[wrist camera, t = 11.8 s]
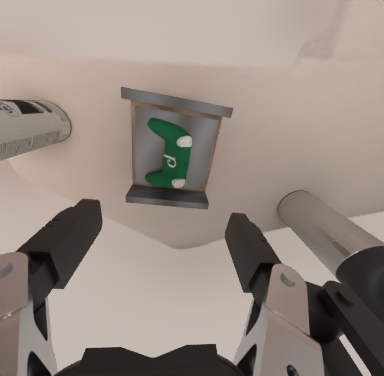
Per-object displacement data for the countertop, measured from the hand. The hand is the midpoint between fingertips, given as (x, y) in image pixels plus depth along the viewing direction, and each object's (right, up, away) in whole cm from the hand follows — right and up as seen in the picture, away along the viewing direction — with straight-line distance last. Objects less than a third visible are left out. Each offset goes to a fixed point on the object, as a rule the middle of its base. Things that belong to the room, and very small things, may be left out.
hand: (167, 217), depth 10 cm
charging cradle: (-2, +11, +21) cm, 24 cm away
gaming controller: (-2, +7, +13) cm, 15 cm away
